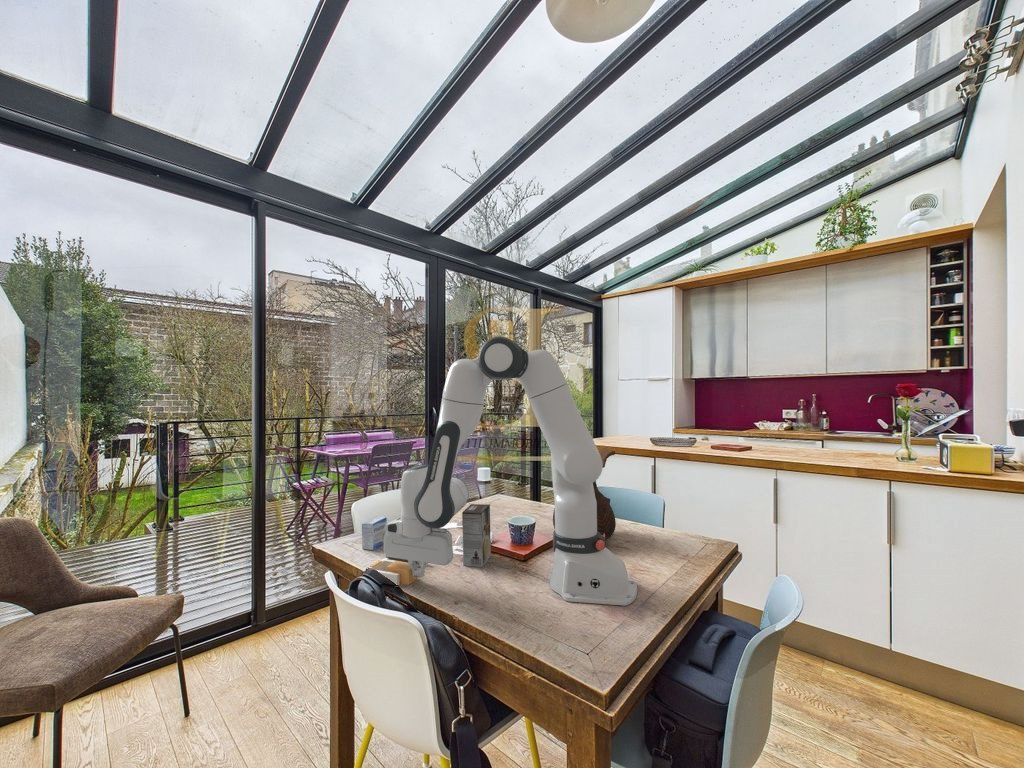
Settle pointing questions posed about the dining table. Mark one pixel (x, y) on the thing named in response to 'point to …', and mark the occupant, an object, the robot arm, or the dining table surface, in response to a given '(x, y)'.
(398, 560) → the slate gray rubber brick
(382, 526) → the medicine box
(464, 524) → the coffee box
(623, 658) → the dining table surface
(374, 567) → the rack
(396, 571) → the tan wooden block
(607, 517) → the jug
